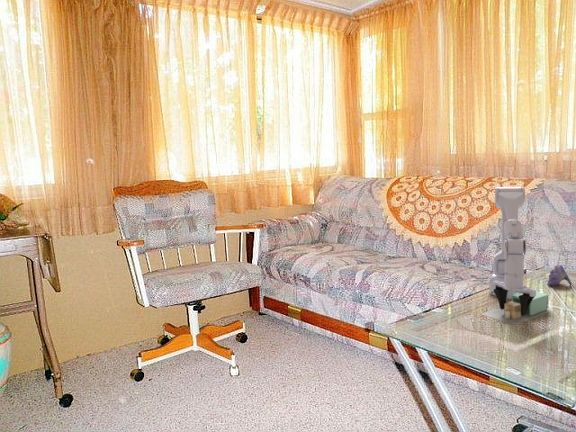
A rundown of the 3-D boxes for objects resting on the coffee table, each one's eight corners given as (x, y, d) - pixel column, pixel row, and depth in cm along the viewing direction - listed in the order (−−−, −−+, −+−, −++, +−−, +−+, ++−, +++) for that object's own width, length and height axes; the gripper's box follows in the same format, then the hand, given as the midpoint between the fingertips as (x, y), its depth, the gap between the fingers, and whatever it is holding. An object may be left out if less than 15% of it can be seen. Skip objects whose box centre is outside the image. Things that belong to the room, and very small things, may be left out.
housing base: (480, 317, 164) (480, 307, 163) (517, 304, 175) (517, 294, 174) (515, 328, 153) (515, 317, 152) (552, 314, 164) (552, 303, 163)
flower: (576, 268, 195) (553, 258, 196) (579, 281, 188) (555, 271, 189) (562, 282, 201) (540, 272, 202) (564, 296, 194) (541, 285, 195)
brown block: (504, 316, 161) (504, 303, 160) (510, 314, 162) (511, 301, 162) (514, 319, 157) (514, 306, 157) (520, 316, 159) (520, 304, 159)
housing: (511, 309, 165) (511, 295, 165) (528, 303, 170) (528, 289, 170) (530, 315, 159) (531, 300, 158) (547, 309, 164) (548, 294, 164)
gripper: (487, 270, 162) (487, 308, 164) (527, 279, 150) (526, 320, 152) (500, 267, 166) (499, 304, 168) (540, 275, 153) (538, 315, 155)
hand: (513, 311), depth 160 cm, fingers open, 7 cm apart
